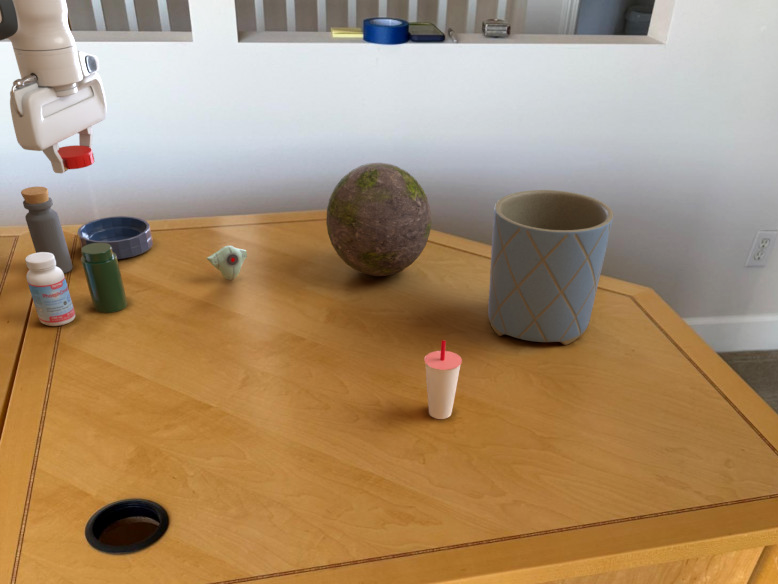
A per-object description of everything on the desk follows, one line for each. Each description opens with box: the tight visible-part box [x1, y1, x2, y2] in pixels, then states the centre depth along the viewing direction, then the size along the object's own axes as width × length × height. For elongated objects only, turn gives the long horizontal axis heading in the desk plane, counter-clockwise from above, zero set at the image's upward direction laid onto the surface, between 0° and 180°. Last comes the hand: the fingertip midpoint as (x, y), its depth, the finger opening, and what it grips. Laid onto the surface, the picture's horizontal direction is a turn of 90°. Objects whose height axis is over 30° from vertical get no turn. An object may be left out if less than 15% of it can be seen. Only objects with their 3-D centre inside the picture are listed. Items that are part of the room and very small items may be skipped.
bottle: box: [20, 186, 74, 274], centre depth 147 cm, size 6×6×15 cm
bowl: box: [76, 215, 154, 260], centre depth 159 cm, size 14×14×4 cm
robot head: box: [206, 245, 248, 280], centre depth 148 cm, size 8×4×7 cm, turn 121°
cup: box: [424, 339, 463, 420], centre depth 112 cm, size 5×5×12 cm
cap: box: [57, 144, 95, 170], centre depth 125 cm, size 6×6×2 cm
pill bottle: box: [24, 252, 76, 327], centre depth 133 cm, size 6×6×11 cm
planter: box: [487, 189, 614, 346], centre depth 131 cm, size 19×19×20 cm
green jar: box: [80, 243, 129, 314], centre depth 138 cm, size 6×6×11 cm
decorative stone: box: [325, 162, 432, 277], centre depth 147 cm, size 20×20×20 cm
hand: (74, 164), depth 126 cm, fingers closed on cap, 6 cm apart
